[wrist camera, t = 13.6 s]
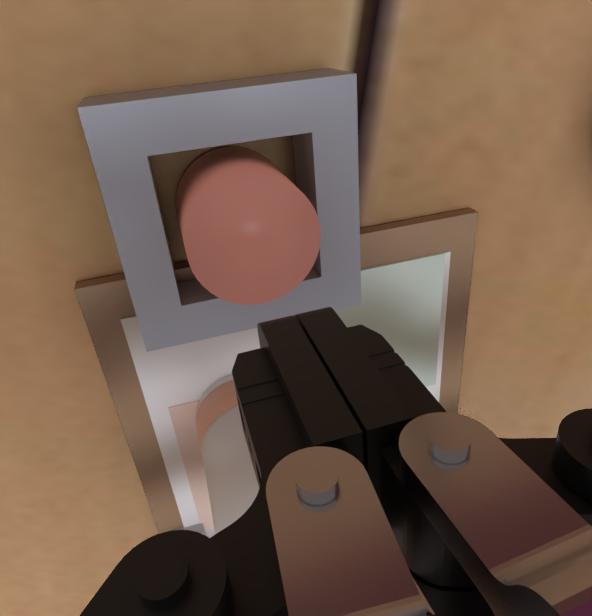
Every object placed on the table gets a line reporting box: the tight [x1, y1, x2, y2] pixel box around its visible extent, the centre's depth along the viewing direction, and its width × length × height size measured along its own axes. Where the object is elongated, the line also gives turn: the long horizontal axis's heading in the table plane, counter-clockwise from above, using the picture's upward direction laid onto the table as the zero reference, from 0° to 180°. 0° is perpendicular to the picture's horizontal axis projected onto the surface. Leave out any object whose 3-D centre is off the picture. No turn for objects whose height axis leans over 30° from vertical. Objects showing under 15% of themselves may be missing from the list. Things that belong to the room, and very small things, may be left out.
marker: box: [196, 375, 259, 534], centre depth 17 cm, size 4×4×12 cm
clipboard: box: [75, 208, 478, 538], centre depth 24 cm, size 20×16×1 cm
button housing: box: [77, 68, 361, 352], centre depth 17 cm, size 8×8×2 cm
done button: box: [176, 147, 321, 305], centre depth 16 cm, size 4×4×4 cm
